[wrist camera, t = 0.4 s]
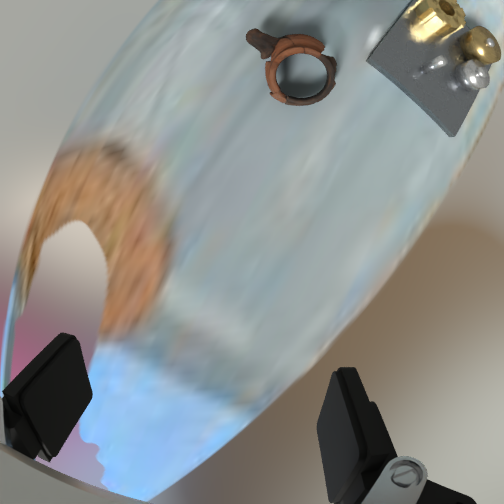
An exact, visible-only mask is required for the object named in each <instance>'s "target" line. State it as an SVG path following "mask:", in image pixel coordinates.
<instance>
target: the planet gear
mask: <svg viewBox="0 0 504 504" xmlns="http://www.w3.org/2000/svg"><path fill="white" fill-rule="evenodd" d="M456 2H457V1H456V0H418V1H417V2H416V3H415V5H417V9H416V10H415V12H416V15H417V17H418V18H421V21H422V22H423V23H424V26H425V27H426V28H427V29H428V30H429V31H434V32H436V33H438V36H444V37H446V36H447V35H449V34H450V35H451V34H453V33H454V32H456V31H458V30H459V29H461V28H463V27H464V26H465V24H466V22H465V21H464V19H465V18H464V17H465V16H466V15H465V13H464V11H463V8H460V6H459V5H458V4H457V3H456Z"/></svg>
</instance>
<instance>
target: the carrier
mask: <svg viewBox="0 0 504 504" xmlns="http://www.w3.org/2000/svg"><path fill="white" fill-rule="evenodd" d="M417 1H418V0H413V1H412V2H411V3H410V5H409V6H408V7H407V8H406V10H405V11H404V12H403V14H402V15H401V16H400V18H399V19H398V20H397V21H396V23H395V24H394V25H393V27H392V28H391V29H390V31H389V32H388V33H387V35H386V36H385V37H384V38H383V40H382V41H381V42H380V44H379V45H378V46H377V48H376V49H375V50H374V52H373V53H372V54H371V56H370V57H369V58H368V60H367V62H368V63H369V64H371V65H372V66H373V67H374V68H376V69H377V70H378V71H379V72H381V73H382V74H383V75H384V76H386V77H387V78H388V79H389V80H390V81H392V82H393V83H394V84H395V85H396V86H397V87H399V88H400V89H401V90H402V91H403V92H404V93H405V94H407V95H408V96H409V97H410V98H411V99H412V100H413V101H414V102H415V103H416V104H417V105H418V106H420V107H421V108H422V109H423V110H424V111H425V112H426V113H427V114H428V115H429V116H430V117H431V118H432V119H433V120H434V121H435V122H436V123H437V124H438V125H439V126H440V127H441V128H442V130H443V131H444V132H445V133H446V134H447V135H448V136H449V137H455V136H456V134H457V132H458V130H459V129H460V127H461V125H462V123H463V121H464V119H465V117H466V116H467V114H468V112H469V110H470V108H471V106H472V104H473V102H474V100H475V98H476V96H477V94H478V92H479V90H480V89H482V88H486V87H487V86H488V85H489V81H490V78H489V74H488V71H489V69H490V66H491V64H492V63H494V62H497V61H499V60H500V58H501V50H500V46H499V44H498V42H497V40H496V39H495V37H494V36H493V35H492V33H491V32H490V31H488V30H487V29H486V28H484V27H481V26H477V27H475V28H473V29H471V30H470V29H469V28H468V27H467V26H466V25H465V26H464V27H463V28H461V29H459V30H458V31H456V32H454V33H453V34H451V35H450V34H449V35H447V36H446V37H444V36H438V33H436V32H434V31H429V30H428V29H427V28H426V27H425V26H424V23H423V22H422V21H421V18H418V17H417V15H416V12H415V10H416V9H417V5H415V3H416V2H417Z"/></svg>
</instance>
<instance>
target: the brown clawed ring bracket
mask: <svg viewBox="0 0 504 504" xmlns="http://www.w3.org/2000/svg"><path fill="white" fill-rule="evenodd" d="M246 40H247V42H248V43H249V44H251V45H252V46H253V47H255V48H256V49H257V50H258V51H260V53H261V58H262V59H267V58H269V57H270V56H271V61H266V66H265V70H266V72H265V73H266V79H267V83H268V86H269V88H270V90H271V91H272V92H270V95H271V96H272V97H274V98H275V99H277V100H278V101H280V102H282V103H285V104H287V105H296V106H303V105H311V104H314V103H316V102H319V101H321V100H322V99H324V98H325V97H326V96H327V95H328V94H329V93H330V92H331V90H332V89H333V88H334V86H335V84H336V83H335V81H334V79H335V72H336V65H337V63H336V60H335V58H334V57H330V56H326V55H323V54H321V52H322V51H324V48H325V46H324V45H323V43H322V42H320V41H319V40H317V39H316V38H314V37H311V36H308V35H304V34H292V35H286V36H283V37H280V38H275V37H272V36H270V35H267V34H265V33H262V32H261V31H259V30H258V29H256V28H255V29H252V30H249V31H248V33H247V34H246ZM298 53H304V54H309V55H312V56H314V57H316V58H318V59H319V60H320V61H321V62H322V63H323V64H324V66H325V68H326V70H327V82H326V84H325V86H324V88H323V89H322V90H321V91H320V92H319V93H317V94H316V95H314V96H311V97H306V98H297V97H292V96H289V95H288V96H287V95H285V94H284V93H282V92H281V91H280V87H279V85H278V83H277V80H276V71H277V68H278V66H279V64H280V63H281V62H282V60H284V59H285V58H286V57H288V56H290V55H293V54H298Z"/></svg>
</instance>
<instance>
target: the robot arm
mask: <svg viewBox="0 0 504 504" xmlns="http://www.w3.org/2000/svg"><path fill="white" fill-rule="evenodd" d="M2 392H3V394H4V397H3V398H1V397H0V504H153V503H148V502H145V501H141V500H137V499H133V498H130V497H126V496H123V495H120V494H116V493H113V492H110V491H107V490H104V489H101V488H98V487H96V486H93V485H90V484H87V483H85V482H82V481H79V480H77V479H75V478H72V477H70V476H67V475H65V474H63V473H60V472H58V471H56V470H54V469H51V468H49V467H47V466H45V465H43V464H41V463H39V462H37V461H35V458H36V456H37V455H38V457H40V458H41V459H43V460H46V461H48V462H50V461H51V459H52V458H53V457H56V456H57V455H58V453H59V451H60V450H61V448H62V446H63V444H64V443H65V441H66V440H67V438H68V436H69V435H70V433H71V431H72V429H73V428H74V427H75V425H76V423H77V422H78V420H79V419H80V417H81V415H82V414H83V412H84V411H85V409H86V408H87V406H88V404H89V403H90V401H91V399H92V395H93V394H92V389H91V385H90V382H89V378H88V375H87V371H86V367H85V363H84V359H83V355H82V351H81V346H80V343H79V341H78V340H77V339H76V337H75V336H74V335H70V334H66V333H60V334H59V335H58V336H57V337H55V338H54V339H53V340H52V341H51V342H50V343H49V344H48V345H47V346H46V347H45V348H44V349H43V350H42V351H41V352H40V353H39V354H38V355H37V356H36V357H35V358H34V359H33V360H32V361H31V362H30V363H29V364H28V365H27V366H26V367H25V368H24V369H23V370H22V371H21V372H20V373H19V374H18V375H17V376H16V377H15V379H14V380H13V381H12V382H11V383H10V384H9V385H8V386H7V387H6V388H5V389H4V390H3V391H2ZM317 434H318V440H319V445H320V451H321V457H322V463H323V468H324V475H325V481H326V487H327V493H328V499H329V502H330V503H334V504H476V502H475V501H474V500H473V499H472V498H471V497H469V496H467V495H464V494H462V493H459V492H456V491H454V490H451V489H449V488H446V487H444V486H441V485H439V484H437V483H434V482H432V481H430V480H427V476H428V475H427V469H426V468H425V466H424V465H423V464H422V463H421V462H420V461H419V460H417V459H415V458H412V457H409V456H401V457H398V456H397V454H396V451H395V449H394V446H393V444H392V441H391V438H390V436H389V434H388V431H387V429H386V426H385V424H384V421H383V419H382V416H381V414H380V412H379V409H378V407H377V405H376V404H375V402H370V401H369V399H368V396H367V394H366V391H365V389H364V386H363V384H362V382H361V379H360V377H359V374H358V372H357V370H356V368H354V367H340V368H339V369H338V370H337V371H334V372H333V373H332V376H331V379H330V383H329V386H328V390H327V393H326V396H325V400H324V403H323V406H322V409H321V412H320V415H319V419H318V422H317Z"/></svg>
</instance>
